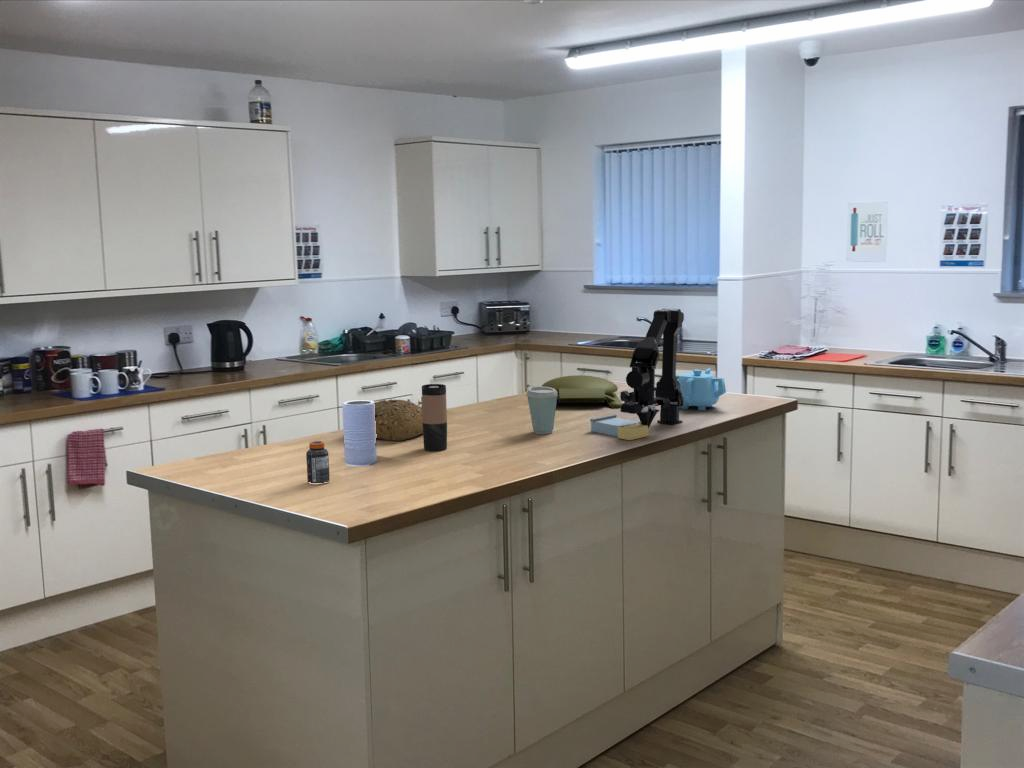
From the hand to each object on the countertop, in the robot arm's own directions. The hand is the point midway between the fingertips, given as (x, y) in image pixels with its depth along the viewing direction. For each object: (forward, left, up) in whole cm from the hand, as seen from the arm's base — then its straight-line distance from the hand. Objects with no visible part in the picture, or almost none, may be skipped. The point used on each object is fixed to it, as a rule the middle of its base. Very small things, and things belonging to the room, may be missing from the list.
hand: (645, 431), depth 328 cm
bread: (+59, -60, -2) cm, 84 cm away
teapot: (-53, -20, -2) cm, 57 cm away
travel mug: (+62, -32, -2) cm, 70 cm away
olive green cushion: (-31, -61, -2) cm, 69 cm away
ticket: (+3, -10, -1) cm, 11 cm away
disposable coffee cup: (+21, -27, -2) cm, 34 cm away
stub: (+6, 0, -1) cm, 6 cm away
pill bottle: (+110, -21, -2) cm, 112 cm away
